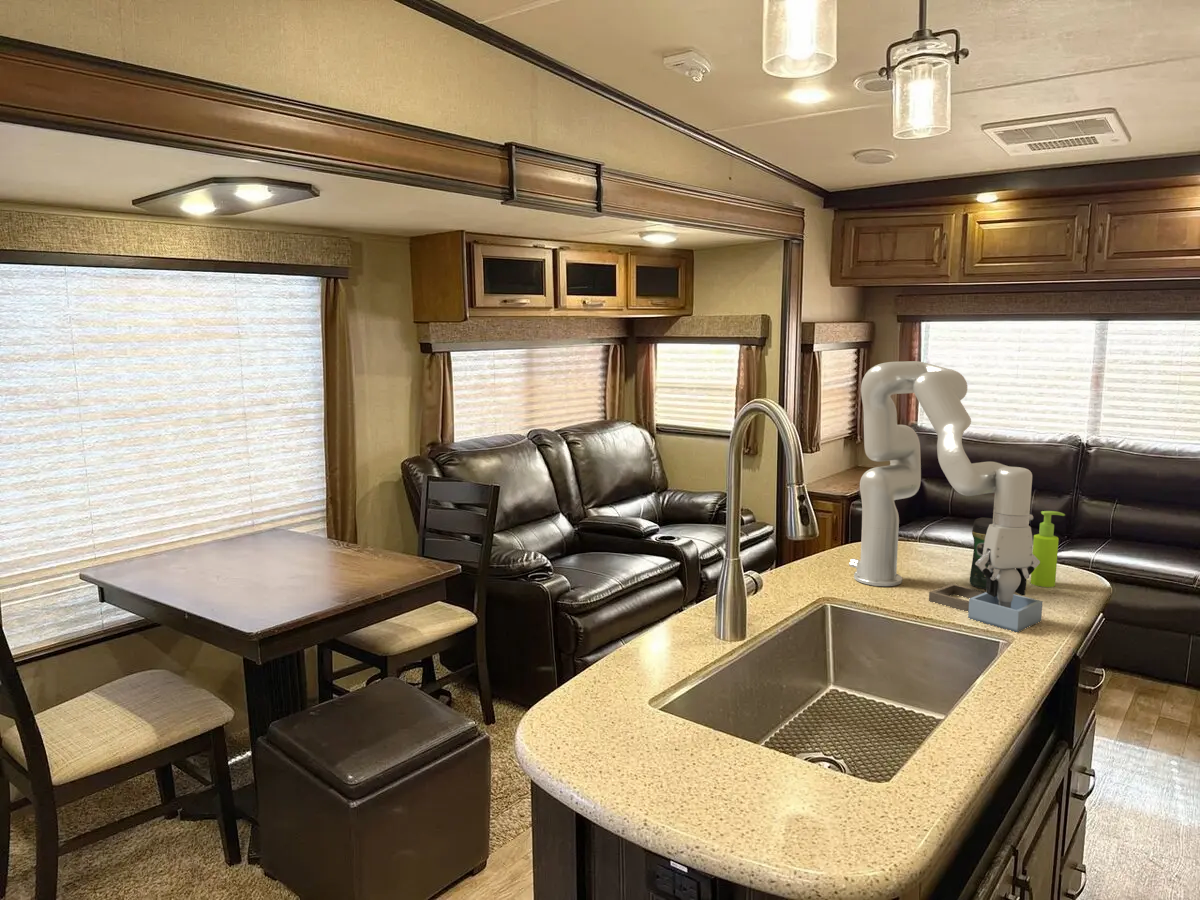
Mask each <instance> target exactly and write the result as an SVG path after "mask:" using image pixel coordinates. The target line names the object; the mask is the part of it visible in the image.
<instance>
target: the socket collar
mask: <svg viewBox="0 0 1200 900" xmlns="http://www.w3.org/2000/svg"><path fill="white" fill-rule="evenodd" d="M985 592H986V591H984V590H983V591H982V590H979V589H976V588H975V589H974V588H971V587H968V586H963V585H959V584H955V583H950V584H947V585H945V586H942V587H940V588H939V587H938V588H936V589H933V590H931V591H929V592H928V602H929V601H930V602H929V603H933V602H935V603H934V604H936V603H938V604H937V605H940V604H942V605H941V606H944V605H946V606H945V607H947V606H950V607H949V608H951V607H952V608H951V609H954V608H956V609H955V610H958V609H960V610H959V611H961V610H964V611H963V612H965V611H969V600H966V599H969V598H972V597H975V596H977V595H980V594H982V593H985ZM953 594H955V595H953ZM950 595H951V596H950ZM957 595H959V596H958V597H959V598H958V597H955V596H957ZM961 596H963V597H962V598H965V597H967V598H966V599H962V598H960V597H961Z"/></svg>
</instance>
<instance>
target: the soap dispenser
mask: <svg viewBox="0 0 1200 900" xmlns="http://www.w3.org/2000/svg"><path fill="white" fill-rule="evenodd" d="M1040 513H1041V515H1043V521H1042V522H1040V523H1039V531H1038V532H1039V533H1037V534H1034V535H1033V539H1032V541H1033V555H1034V556H1035V557H1036V558H1037V559H1038V560H1039V561H1040V564H1039V565H1038V566H1037V567H1036V568H1034V571H1033V572H1032V573H1031V574H1030V582H1029V583H1030V584H1031V585H1032V586H1037V587H1040V586H1041V588H1054V587H1055V586H1056V578H1057V577H1056V576H1057V565H1058V553H1059V551H1058V550H1059V537H1058V536H1056V535H1054V532H1055V524H1054V523H1053V522H1052V516H1062V517H1065V516H1066V514H1065V513H1064V512H1060V511H1055V510H1044V511H1043V510H1042V511H1040Z"/></svg>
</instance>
